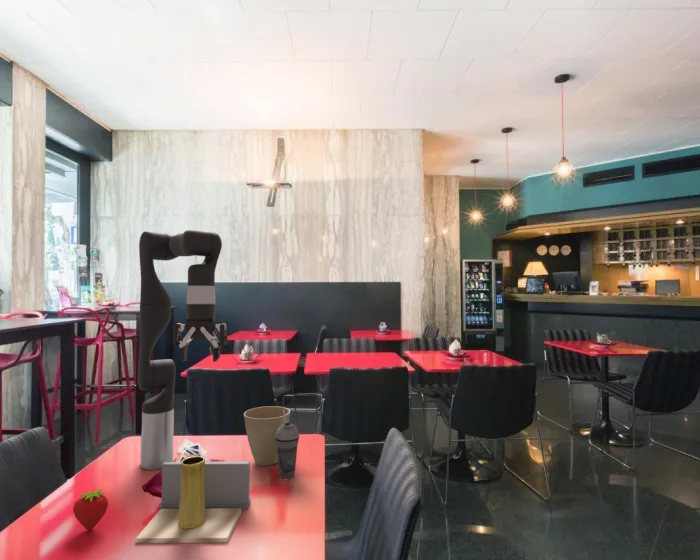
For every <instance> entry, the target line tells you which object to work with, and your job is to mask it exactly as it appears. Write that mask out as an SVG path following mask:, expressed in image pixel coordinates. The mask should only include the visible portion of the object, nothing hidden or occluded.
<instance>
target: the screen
mask: <svg viewBox="0 0 700 560" xmlns="http://www.w3.org/2000/svg"><path fill="white" fill-rule="evenodd" d="M181 462H182V461H173V462H164V463H163V464H162V468H161V470H162V471H161V504H160V505H159V506H158V512H159V511H160V510H161V509H179V505H180V488H181ZM250 468H251V461H205V509H214V508H242V509H241V511H248V508H249V506H250V504H251V502H252V501H251V497H250V493H251V492H250V483H251V482H250V477H251V475H250V474H251V473H250V472H251V471H250V470H251V469H250Z"/></svg>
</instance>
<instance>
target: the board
mask: <svg viewBox="0 0 700 560" xmlns="http://www.w3.org/2000/svg"><path fill="white" fill-rule="evenodd" d="M241 509H242V508H214V509H205V515H206V520H205V522H204V523H203V524H202V525H200V526H198V527H196V528H193V529H182V528H180V527H179V526H178V521H179V509H161V510H160V511H159V510H158V512H157V513H156V514H155V515H154V516H153V518H152V519H151V520H150V521H149V522H148V524H147V525H145V527H144V528H143V529H142V531H140V533H139V534H138V535H137V536H136V537H135V544H167V543H169V544H175V543H176V544H178V543H179V544H180V543H181V544H184V543H185V544H187V543H189V544H192V543H204V544H205V543H228V542H229V539H230V538H231V535H232V534H233V531H234V529H235V527H236V525H237V523H238V520H239V518H240V516H241V514H242V510H241Z"/></svg>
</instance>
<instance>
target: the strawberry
mask: <svg viewBox="0 0 700 560" xmlns="http://www.w3.org/2000/svg"><path fill="white" fill-rule="evenodd" d="M95 487H96V484H94V485H93V490H92V491H87V493H80V494H79V496H81V497H79V498H78V499H77V500H76V501H75V502H74V504H73V507H72V511H73V515H74V517H75V519H76V520H77V521H78V523H80V525H81V526H82V527H84V528H85V530H86V531H92V530H93V529H94V528H95V527H96V525H98V523H99V522H101V520H102V518H103V517H104V515H105V513H106V512H107V509H108V505H109V499H108V497H106V496H105V494H106V492H102V491H104V488H101V489H98V490H95Z"/></svg>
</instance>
